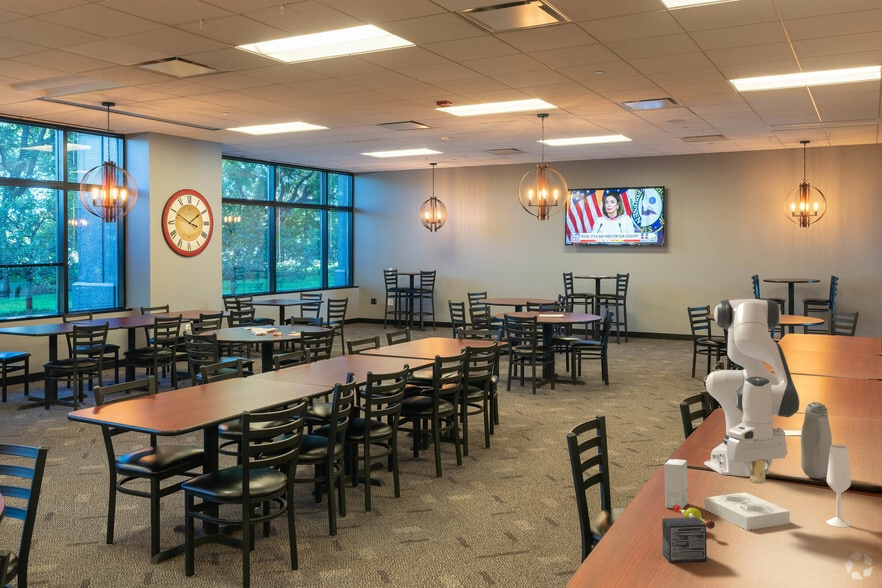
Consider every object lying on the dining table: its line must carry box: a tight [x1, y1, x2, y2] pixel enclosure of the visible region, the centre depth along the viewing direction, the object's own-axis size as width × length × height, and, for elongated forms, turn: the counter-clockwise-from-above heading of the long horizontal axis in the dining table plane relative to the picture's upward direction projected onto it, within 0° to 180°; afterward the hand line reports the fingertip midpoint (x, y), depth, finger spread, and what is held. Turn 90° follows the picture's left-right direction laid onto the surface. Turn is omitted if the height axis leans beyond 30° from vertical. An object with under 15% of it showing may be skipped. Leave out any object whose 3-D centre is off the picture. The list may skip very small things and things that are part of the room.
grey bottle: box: [800, 401, 833, 480], centre depth 283 cm, size 10×10×28 cm
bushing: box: [749, 460, 766, 485], centre depth 238 cm, size 4×4×7 cm
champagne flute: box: [825, 444, 852, 528], centre depth 236 cm, size 7×7×24 cm
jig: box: [704, 492, 791, 531], centre depth 244 cm, size 20×16×4 cm
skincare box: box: [664, 458, 689, 510], centre depth 255 cm, size 8×6×15 cm
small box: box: [661, 517, 708, 564], centre depth 212 cm, size 11×6×10 cm, turn 92°
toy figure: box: [671, 504, 716, 530], centre depth 233 cm, size 18×6×7 cm, turn 21°
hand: (757, 474), depth 238 cm, fingers closed on bushing, 4 cm apart
